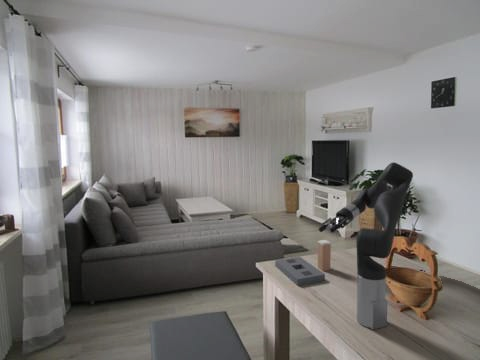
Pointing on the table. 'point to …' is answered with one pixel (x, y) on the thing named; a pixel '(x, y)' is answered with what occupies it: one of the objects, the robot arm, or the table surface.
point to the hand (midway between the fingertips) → (325, 230)
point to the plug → (324, 255)
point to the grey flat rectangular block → (299, 270)
